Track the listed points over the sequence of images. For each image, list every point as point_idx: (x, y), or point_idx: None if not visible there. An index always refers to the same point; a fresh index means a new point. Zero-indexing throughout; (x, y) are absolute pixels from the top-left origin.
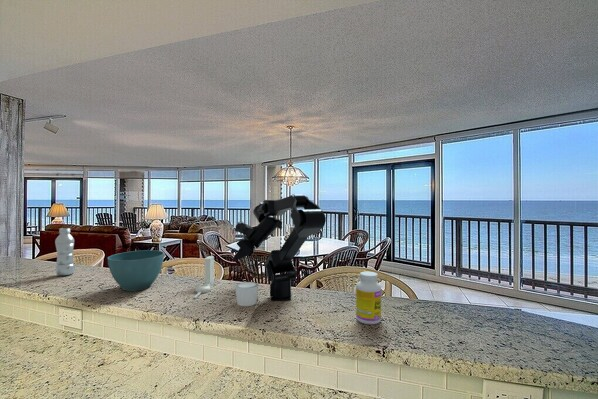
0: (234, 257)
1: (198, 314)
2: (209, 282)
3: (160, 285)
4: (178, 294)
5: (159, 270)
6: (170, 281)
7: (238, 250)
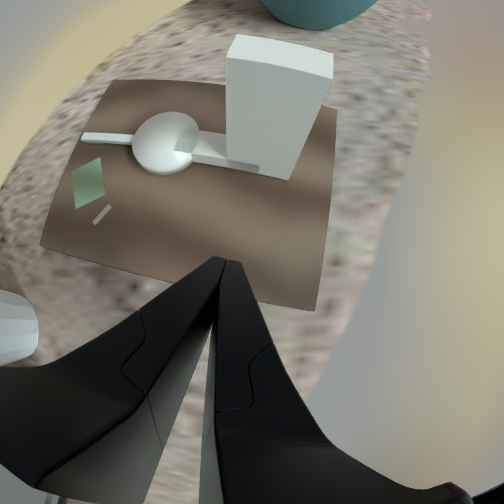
0: (197, 272)
1: (20, 180)
2: (227, 154)
3: (321, 45)
4: (210, 83)
5: (314, 3)
6: (363, 65)
7: (106, 333)
